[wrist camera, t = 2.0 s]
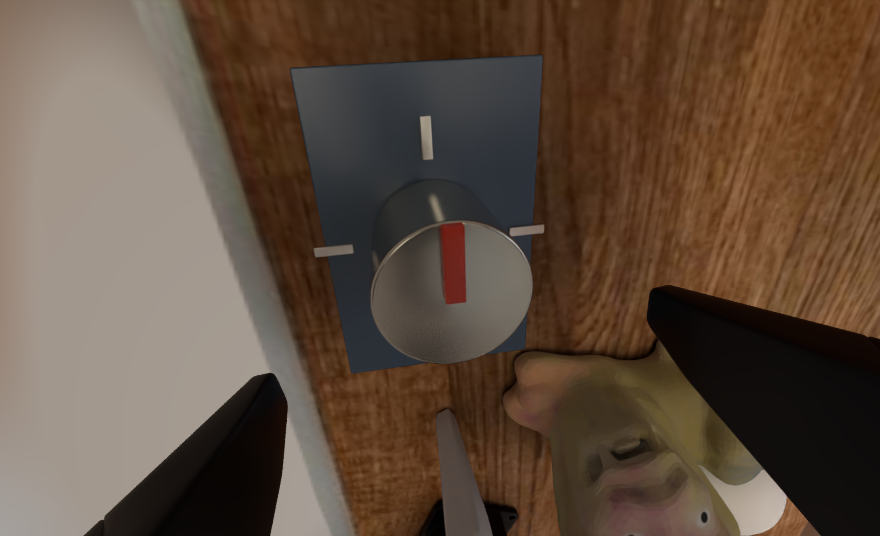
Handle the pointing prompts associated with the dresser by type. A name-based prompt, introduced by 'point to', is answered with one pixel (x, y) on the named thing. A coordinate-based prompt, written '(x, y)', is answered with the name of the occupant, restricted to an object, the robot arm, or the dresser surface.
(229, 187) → the dresser surface
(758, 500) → the lightbulb
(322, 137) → the dial base
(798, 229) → the dresser surface
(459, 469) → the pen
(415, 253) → the dial knob
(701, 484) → the sculpture
